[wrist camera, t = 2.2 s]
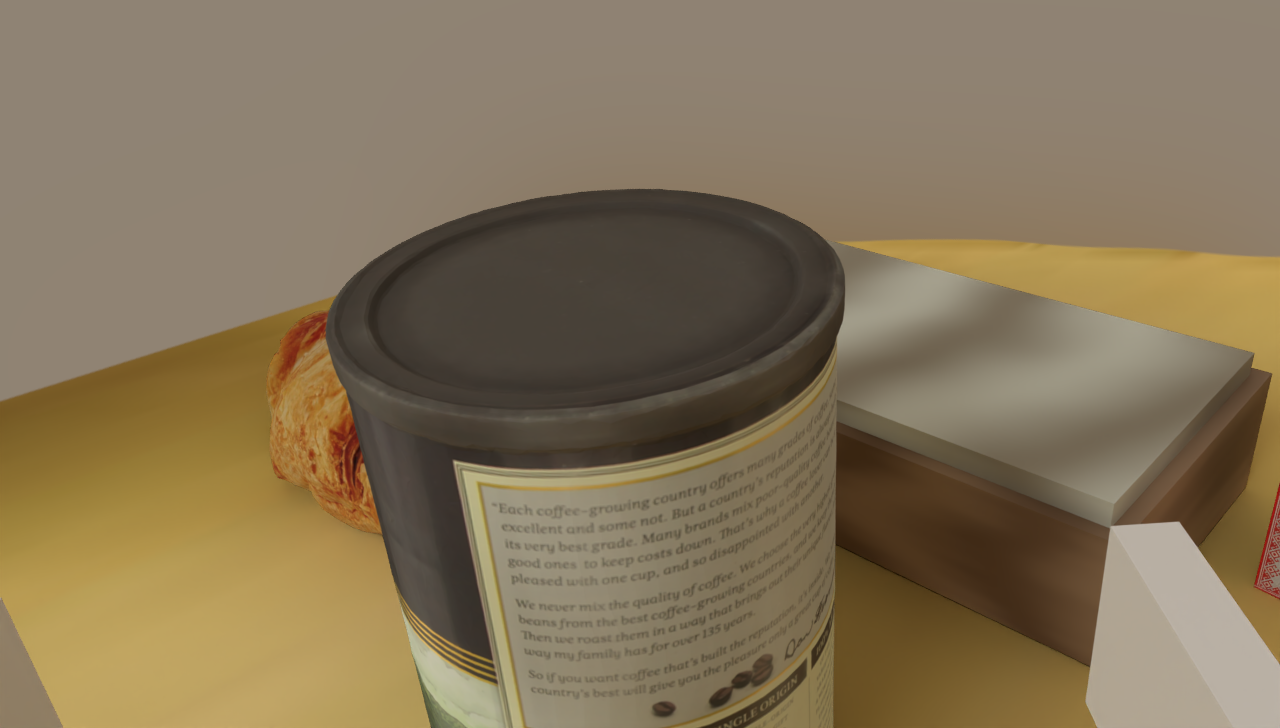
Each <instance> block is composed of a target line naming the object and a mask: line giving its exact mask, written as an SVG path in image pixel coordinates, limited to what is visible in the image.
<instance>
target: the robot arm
mask: <svg viewBox="0 0 1280 728" xmlns="http://www.w3.org/2000/svg"><path fill="white" fill-rule="evenodd" d="M1085 702H1086V705H1087V707H1088V709H1089V711H1090V713H1091V715H1092V717H1093V720H1094V722H1095V724H1096V726H1097V728H1280V664H1279V663H1278V661H1277V660H1276V658H1275V657H1274V656H1273V654H1272V653H1271V651H1270V650H1269V649H1268V647H1267V646H1266V644H1265V643H1264V641H1263V640H1262V639H1261V637H1260V636H1259V634H1258V633H1257V632H1256V630H1255V629H1254V627H1253V626H1252V624H1251V623H1250V622H1249V620H1248V619H1247V617H1246V616H1245V614H1244V613H1243V612H1242V610H1241V609H1240V607H1239V606H1238V605H1237V603H1236V602H1235V600H1234V599H1233V597H1232V596H1231V595H1230V593H1229V592H1228V590H1227V589H1226V587H1225V586H1224V585H1223V583H1222V582H1221V580H1220V579H1219V578H1218V576H1217V575H1216V573H1215V572H1214V570H1213V569H1212V568H1211V566H1210V565H1209V563H1208V562H1207V560H1206V559H1205V558H1204V556H1203V555H1202V553H1201V552H1200V551H1199V549H1198V548H1197V546H1196V545H1195V543H1194V542H1193V541H1192V539H1191V538H1190V536H1189V535H1188V534H1187V532H1186V531H1185V529H1184V528H1183V526H1182V525H1181V524H1180V522H1166V523H1151V524H1135V525H1120V526H1110V533H1109V540H1108V547H1107V554H1106V561H1105V568H1104V575H1103V582H1102V589H1101V596H1100V603H1099V610H1098V617H1097V624H1096V631H1095V638H1094V645H1093V652H1092V659H1091V666H1090V673H1089V680H1088V687H1087V694H1086V701H1085ZM0 728H63V726H62V724H61V722H60V720H59V718H58V716H57V713H56V711H55V709H54V707H53V705H52V703H51V701H50V699H49V697H48V695H47V693H46V690H45V688H44V686H43V684H42V682H41V680H40V678H39V676H38V674H37V672H36V670H35V667H34V665H33V663H32V661H31V659H30V657H29V655H28V653H27V651H26V649H25V646H24V644H23V642H22V640H21V638H20V636H19V634H18V632H17V630H16V628H15V626H14V623H13V621H12V619H11V617H10V615H9V613H8V611H7V609H6V607H5V605H4V603H3V600H2V598H0Z"/></svg>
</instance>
